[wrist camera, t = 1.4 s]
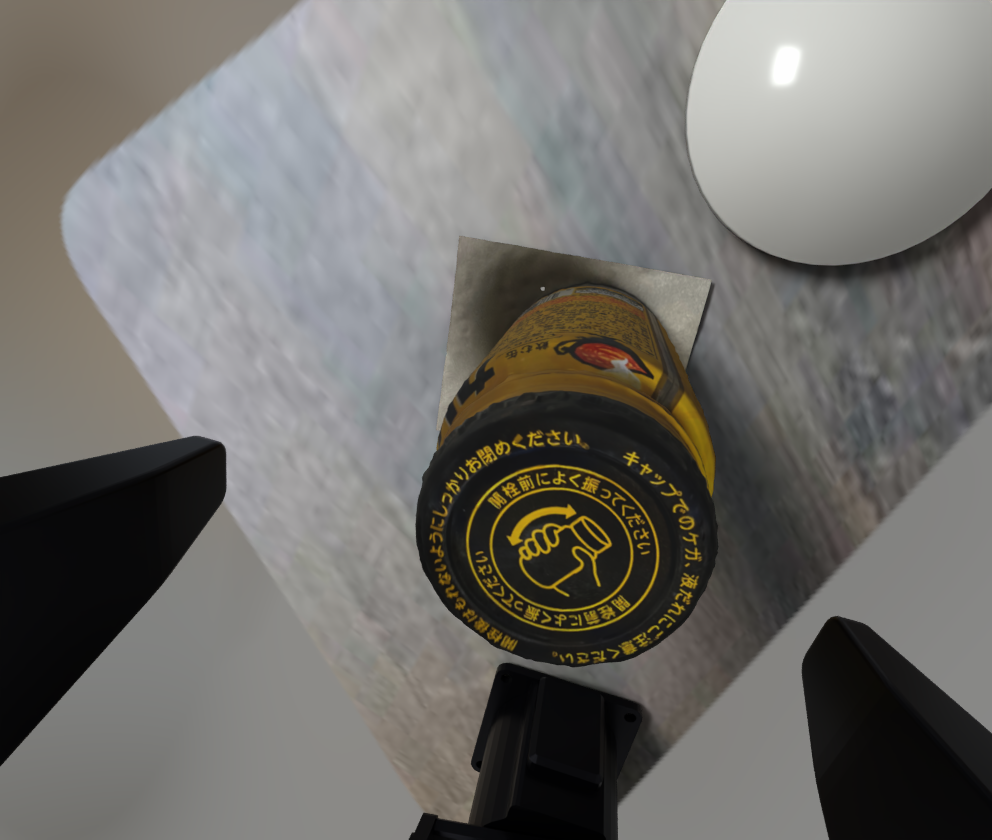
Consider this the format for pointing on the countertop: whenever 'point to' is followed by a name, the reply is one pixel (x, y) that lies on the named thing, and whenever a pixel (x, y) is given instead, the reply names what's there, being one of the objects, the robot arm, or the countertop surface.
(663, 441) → the condiment
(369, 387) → the countertop surface
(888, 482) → the countertop surface
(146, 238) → the countertop surface
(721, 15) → the coaster
